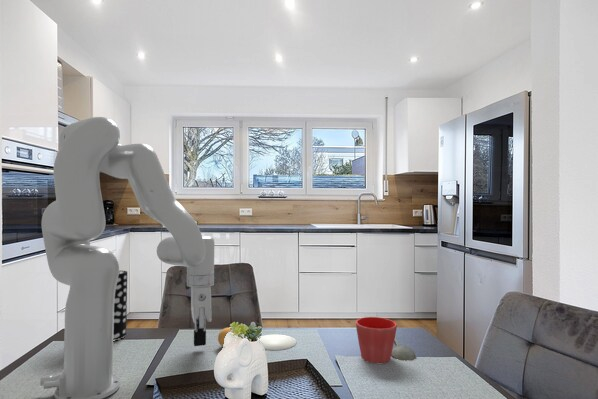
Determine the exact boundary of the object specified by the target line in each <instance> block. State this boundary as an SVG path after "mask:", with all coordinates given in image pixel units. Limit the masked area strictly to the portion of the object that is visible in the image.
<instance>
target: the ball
mask: <svg viewBox="0 0 598 399" xmlns="http://www.w3.org/2000/svg"><path fill="white" fill-rule="evenodd" d="M230 328H231V327H224V328H223V329H221V330H220V331H219V333H218V336H217V340H218V343H219V345H220V346H221V347H223V344H224V338H225V336H226V334H227V333H228V332H230V331H231V330H230Z"/></svg>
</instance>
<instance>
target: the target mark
mask: <svg viewBox="0 0 598 399" xmlns="http://www.w3.org/2000/svg"><path fill="white" fill-rule="evenodd" d="M260 337H261V338H260V339H259V340H260V341H261V342H262V343H263V345H264V347H265V350H266V351H284V350H288V349H291V348H293V347H295V346H296V344H297V340H296V339H295V338H294V337H292V336H289V335H284V334H265V335H261V336H260ZM265 350H264V351H265Z"/></svg>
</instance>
